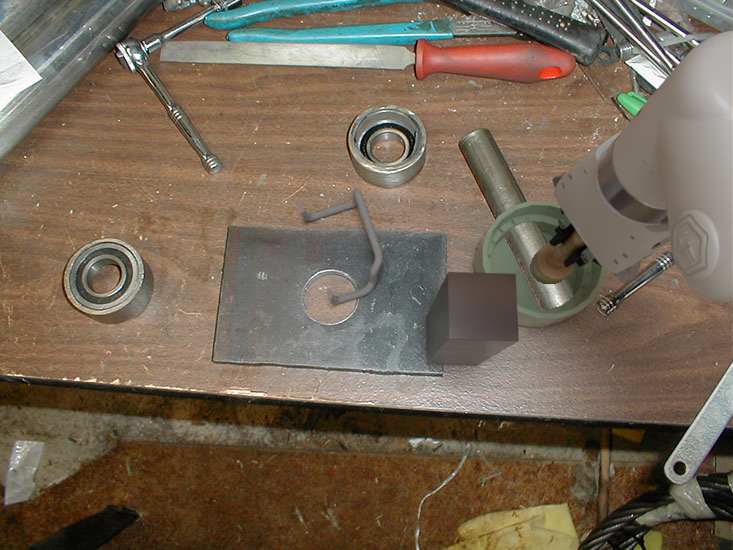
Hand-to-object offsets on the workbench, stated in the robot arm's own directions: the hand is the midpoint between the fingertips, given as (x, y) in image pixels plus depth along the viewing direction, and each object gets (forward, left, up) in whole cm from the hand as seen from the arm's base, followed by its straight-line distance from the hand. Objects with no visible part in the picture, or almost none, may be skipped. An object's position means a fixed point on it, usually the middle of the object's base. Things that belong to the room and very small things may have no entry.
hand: (569, 248), depth 60 cm
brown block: (-9, +12, -10) cm, 18 cm away
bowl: (0, +2, -10) cm, 10 cm away
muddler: (0, 0, -8) cm, 8 cm away
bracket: (+2, +26, -10) cm, 28 cm away
